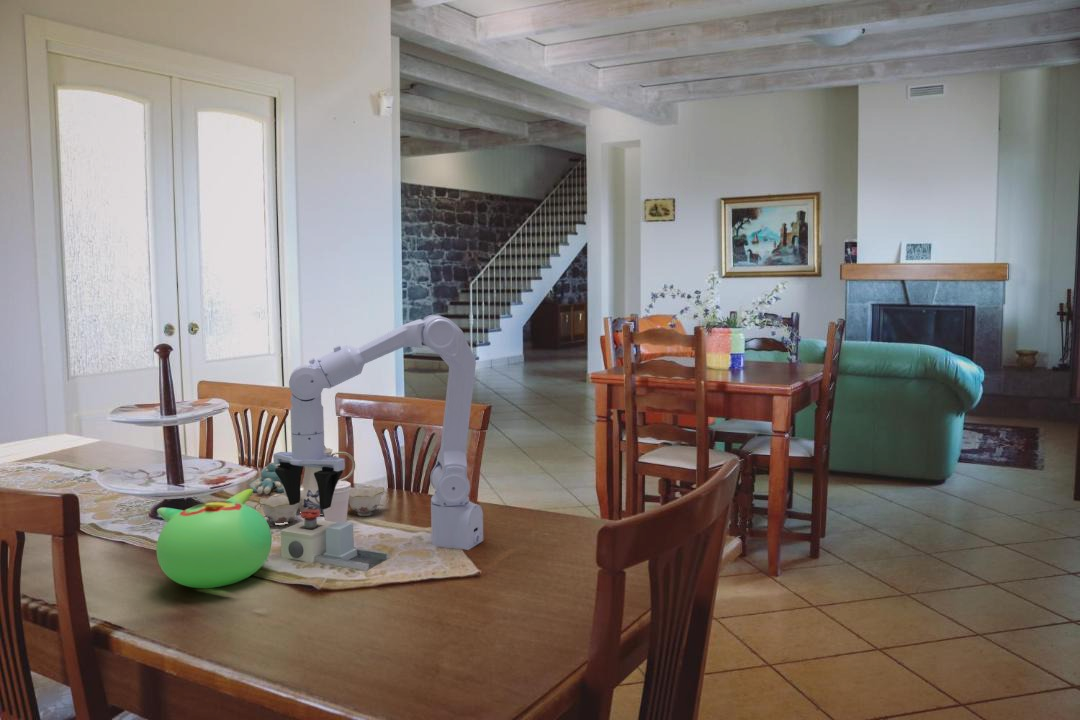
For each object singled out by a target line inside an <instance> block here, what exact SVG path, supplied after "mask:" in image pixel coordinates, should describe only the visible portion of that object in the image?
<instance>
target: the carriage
mask: <svg viewBox="0 0 1080 720" xmlns="http://www.w3.org/2000/svg"><path fill="white" fill-rule="evenodd" d="M354 544H355V543H354V523H353V522H348V521H346V522H341V521H339V522H337V523H335V524H332V525H330V526H328V527H326V553H324V554H323V556H325V557H331V558H337V559H343V560H349V559H351V558H354V557H355V556H357V549H354V547H355V545H354Z"/></svg>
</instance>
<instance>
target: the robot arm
mask: <svg viewBox="0 0 1080 720" xmlns="http://www.w3.org/2000/svg"><path fill="white" fill-rule="evenodd" d="M423 345H425V346H426V347H428V348H429V349H430V350H432V351H434V352H435V353H437V354H438V356H439V357H440V358H441V359H442V360H443V362H445V364H447V366H448V376H447V384H446V391H445V392H446V394H445V401H444V402H445V403H444V412H443V420H442V421H443V422H442V429H441V438H440V439H441V440H440V448H439V451H438V454H437V456H436V462H435V465H434V467H433V468H432V470H431V472H430V475H429V476H430V477H429V479H430V480H429V481H430V484H431V486H432V488H433V489H434V490H435V491H434V493H433V495H432V496H431V498H430V517H431V518H430V520H431V523H430V526H431V530H430V531H431V535H430V536H431V545H433V546H435V547H439V548H446V549H447V548H448V549H451V548H452V549H457V550H467V551H470V550H471V549H473V548H474V547H476V546H477V545H479V544H480V543H482V542H483V541H484V511H483V509H482V506H481V505H480V504H477V503H474V502H472V501H471V500H470V496H469V494H470V492H471V483H470V481H469V479H468V461H467V460H468V459H467V447H468V446H467V445H468V437H469V436H468V435H469V428H470V427H469V426H470V417H471V410H472V409H471V408H472V399H473V394H474V393H473V390H474V384H475V374H476V373H475V372H476V366H477V365H476V364H477V362H476V361H477V360H476V357H475V354H474V353H473V351H472V349H471V347H470V345H469V342H468V341H467V339H466V337H465V335H464V332H463V330H462V329H461V328H460V327H459V326H458V325H457V324H456V323H455V322H454V321H452V320H451V319H450V318H447V317H445V316H442V315H440V314H439V315H438V314H431V315H427V316H425V317H424V318H420V319H415V320H413V321H410V322H407V323H404V324H402V325H400V326H398V327H395V329H392V330H390V331H388V332H386V333H385V334H384V333H383V335H382V334H381V336H378V337H377V338H374V339H372V340H371V341H369V342H367V343H365V344H363V345H361V346H359V347H354V346H351V345H344V346H341V345H336V346H335V347H333V351H332V352H330V353H328V354H324V355H323V356H321V357H319V358H317V359H315V358H311V359H309V360H308V363H309V365H307V364H302V365H299V366H297V367H296V368H295V369H293V371H292V372H291V373H290V378H289V381H288V387H289V390H290V392H291V396H290V405H291V406H290V408H289V409H290V410H289V411H290V435H291V436H290V438H291V439H290V440H291V441H290V442H291V451H278V452H274V453H272V454H273V455H272V456H273V463H274V464H280V466H279V467H278V468H276V469H275V473H276V474H277V475H278V477H279V478H280V480H281V482H282V484H283V486H284V488H285V491H286V494H287V497H288V501H289V504H290V505H294V504H297V503H299V502H300V486H301V484H302V482H301V481H302V475H303V469H304V468H305V467H314V468H322V470H320V471H317V472H315V473H314V476H315V478H316V481H317V485H318V490H319V502H320V508H321V509H323V510H324V509H327V508H329V507H331V502H332V498H333V494H334V490H335V487H336V485H337V482H338V480H339V479H341V476H342V474H343V473H344V472H343V471H344V470H345V467H346V464H345V458H344V457H343V458H341V457H338V456H337V457H338V458H337V457H334V456H335V455H333V456H330V455H326V454H325V449H324V445H325V426H324V425H325V422H324V421H325V419H324V406H323V403H322V393H323V390H324V389H328V390H329V389H331V388H334V387H336V386H338V385H340V384H342V383H344V382H347V381H349V380H351V379H353V378H355V377H356V376H357V377H358V376H359V375H361V374H362V372H363V370H364V369H363V368H364V367H365V365H366V364H368V363H371V362H372V361H374V360H377V359H379V358H382V357H384V356H386V355H388V354H390V353H393V352H395V351H397V350H399V349H402V348H406V347H409V348H419V349H422V348H423Z"/></svg>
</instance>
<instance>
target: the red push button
mask: <svg viewBox="0 0 1080 720" xmlns="http://www.w3.org/2000/svg"><path fill="white" fill-rule="evenodd" d="M318 517H321V516H320V510H319V509H305V510H302V511H301V514H300V518H302V519H303V521H304V527H305V529H307V530H314V529H316V528H317V520H318Z"/></svg>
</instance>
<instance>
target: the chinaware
mask: <svg viewBox="0 0 1080 720" xmlns="http://www.w3.org/2000/svg"><path fill="white" fill-rule="evenodd" d="M324 449H325V454H326V455H330V456H334V457H337V458H339V457H338V456H337V455H343V456H344V455H345V456H347V457H348V458H349V459H350V460H351V463H352V464H351V465H352V466H351V470H350V471H349V473H348V474H347V475H346V476H344V477H343V478H339V481H347V480H348V479H349V478H350V477H351V476H353V474H354V472H355V471H356V470H355V469H356V460H355V458H354V457H353V456H352V455H351V454H350V453H348V452H346V451H336V452H333V449H331V448H328V447H326V446H325V444H324ZM332 452H333V453H332ZM320 470H322V468H314V467H305V466H304V474H303V479H302V482H301V484H300V502H299V503H297V504H294V505H290V504H289V501H288V497H287V494H286V491H285V488H284V492H283V493H284V494H280V493H278V494H277V493H276V494H275V493H274V494H272V495H270V496H269V497H268V498H264V497H263V498H259V499H258V502H259V503H257V504H255V506H254V507H253V509H255V510H256V508H257V506H259V507H260V508H262V511H263V513H264V515H265V516H264V515H262V516H263V517H264V518H267V519H266V521H267V523H268V522H274V523H275V522H276V523H284V522H290V520H292V519H293V518H294V517H295V516H296V514H297V512H298V510H299V513H300V512H301V511H302V510H305V509H319V510H320V514H324V511H323V509H321V508H320V502H319V490H318V485H317V481H316V478H315V476H314V473H315V472H317V471H320ZM347 482H349V481H347ZM384 494H386V495H387V500H386V502H385V503H383V504H380V502H381V500H382V496H384ZM389 501H390V495H389V493H388V492H387V491H385V488H384V487H383V486H379V487H375V486H373V485H368V484H367V485H362V486H359V487H351V489H350V490H349V501H348V505H349V506H350V507H351V508H352V510H354V511H355V512H356V515H359V517H361V516H362V517H363V516H364V517H365V516H367V517H369V516H371V515H374V513H373V511H374V510H375V511H378V510H379V508H378V506H379V507H380V506H381V507H383V506H386V505H387V504H388V503H389Z"/></svg>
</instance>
